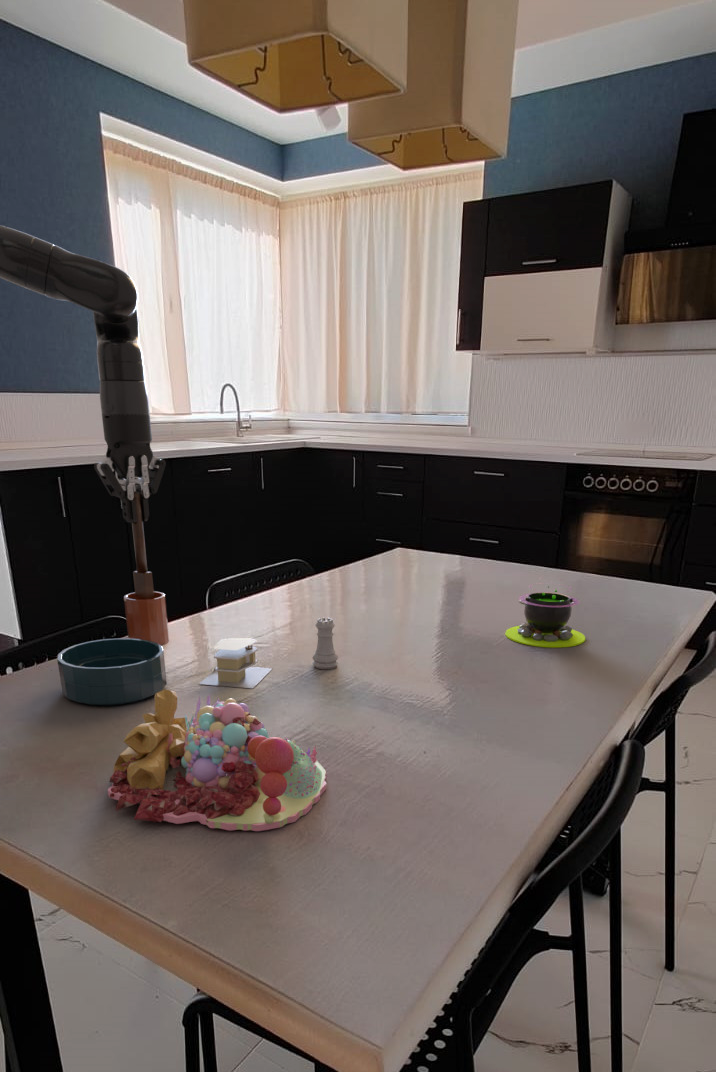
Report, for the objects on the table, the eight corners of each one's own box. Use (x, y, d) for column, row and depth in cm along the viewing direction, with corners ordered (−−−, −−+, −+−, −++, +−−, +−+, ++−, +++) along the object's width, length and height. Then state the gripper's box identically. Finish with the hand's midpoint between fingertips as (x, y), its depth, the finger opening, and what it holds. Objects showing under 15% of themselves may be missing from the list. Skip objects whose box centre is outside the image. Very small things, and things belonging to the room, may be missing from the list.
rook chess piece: (338, 670, 128) (338, 623, 125) (311, 670, 128) (310, 623, 124) (338, 661, 132) (338, 616, 129) (312, 661, 132) (311, 616, 129)
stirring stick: (135, 596, 137) (124, 490, 130) (143, 594, 138) (132, 489, 131) (146, 598, 135) (135, 492, 128) (154, 596, 136) (144, 491, 129)
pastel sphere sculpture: (77, 828, 80) (65, 747, 76) (146, 737, 101) (138, 670, 98) (317, 836, 79) (316, 754, 75) (335, 742, 100) (334, 675, 97)
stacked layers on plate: (253, 688, 119) (251, 654, 117) (198, 684, 121) (196, 650, 119) (272, 668, 128) (271, 636, 126) (221, 664, 130) (219, 633, 128)
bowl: (42, 693, 116) (36, 655, 114) (124, 668, 128) (120, 633, 125) (105, 716, 108) (100, 675, 106) (187, 687, 119) (184, 650, 117)
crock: (121, 645, 139) (115, 596, 136) (152, 636, 145) (147, 589, 141) (146, 652, 136) (141, 602, 132) (177, 643, 141) (173, 594, 137)
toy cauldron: (575, 626, 154) (582, 571, 150) (594, 648, 140) (602, 588, 136) (500, 625, 155) (504, 570, 150) (511, 646, 141) (517, 587, 136)
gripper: (144, 411, 132) (154, 515, 139) (74, 411, 122) (89, 524, 128) (174, 412, 128) (182, 519, 135) (104, 412, 117) (117, 528, 124)
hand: (136, 521), depth 131 cm, fingers closed on stirring stick, 2 cm apart
